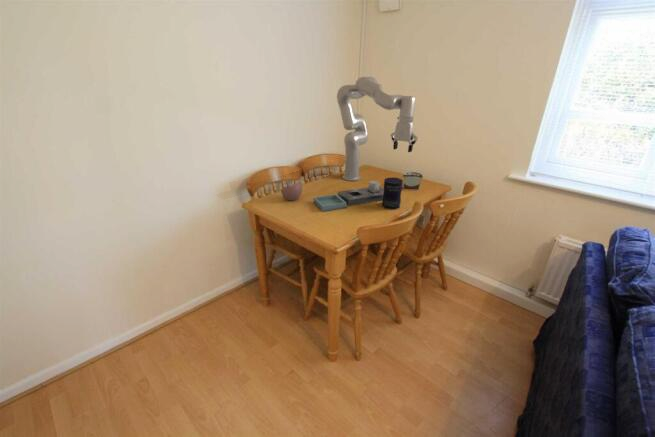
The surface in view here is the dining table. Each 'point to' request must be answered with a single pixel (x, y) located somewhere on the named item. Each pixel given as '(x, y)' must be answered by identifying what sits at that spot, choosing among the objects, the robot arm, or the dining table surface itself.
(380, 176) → the dining table surface
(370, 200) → the grey block with hole
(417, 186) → the food container
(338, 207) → the parts tray
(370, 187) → the steel block
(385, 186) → the storage jar
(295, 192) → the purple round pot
